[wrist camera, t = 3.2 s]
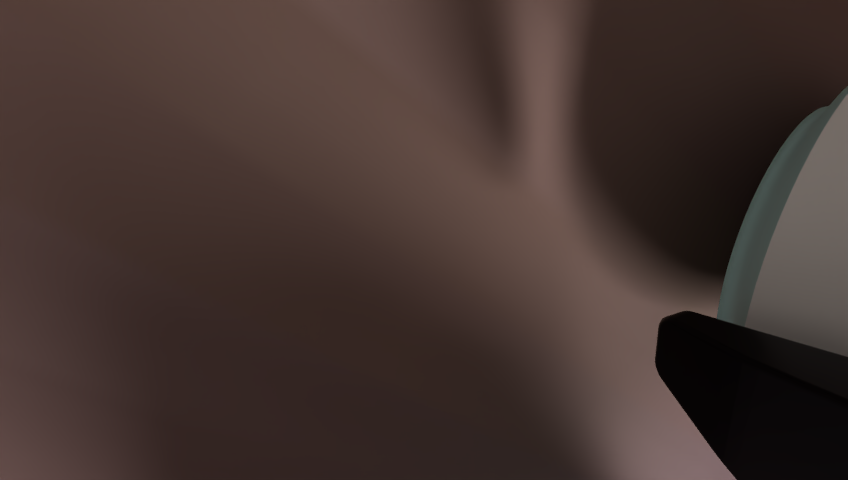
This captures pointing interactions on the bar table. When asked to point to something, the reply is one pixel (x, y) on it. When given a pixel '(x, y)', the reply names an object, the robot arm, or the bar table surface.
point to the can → (797, 240)
